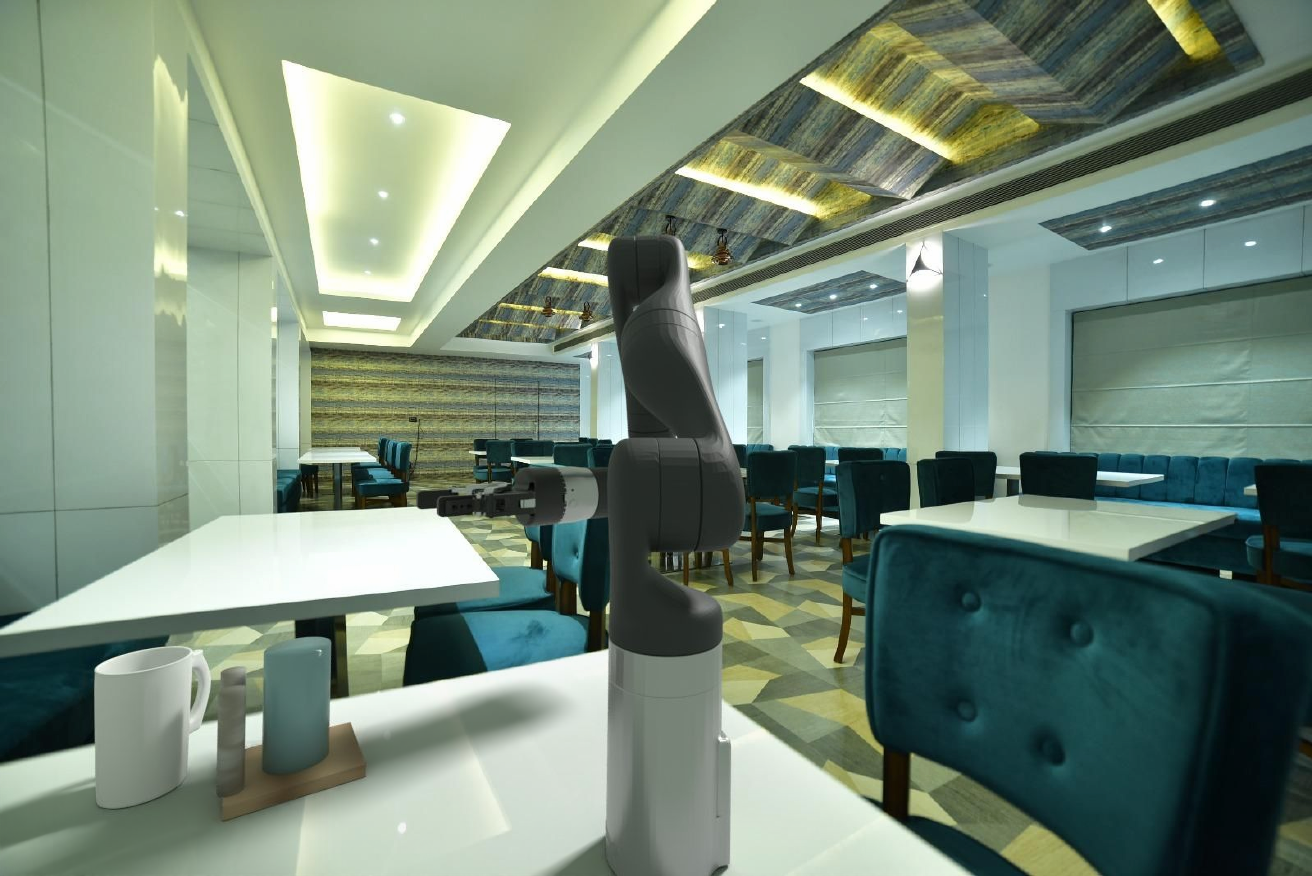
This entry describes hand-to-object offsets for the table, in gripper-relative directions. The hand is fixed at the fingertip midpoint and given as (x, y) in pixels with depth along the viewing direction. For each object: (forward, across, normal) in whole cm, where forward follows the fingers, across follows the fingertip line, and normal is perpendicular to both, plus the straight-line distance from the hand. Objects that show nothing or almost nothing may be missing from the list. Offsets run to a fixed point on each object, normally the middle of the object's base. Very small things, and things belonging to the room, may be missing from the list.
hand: (426, 503), depth 63 cm
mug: (+23, -6, +26) cm, 35 cm away
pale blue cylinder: (+12, +1, +24) cm, 27 cm away
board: (+13, +1, +26) cm, 28 cm away
